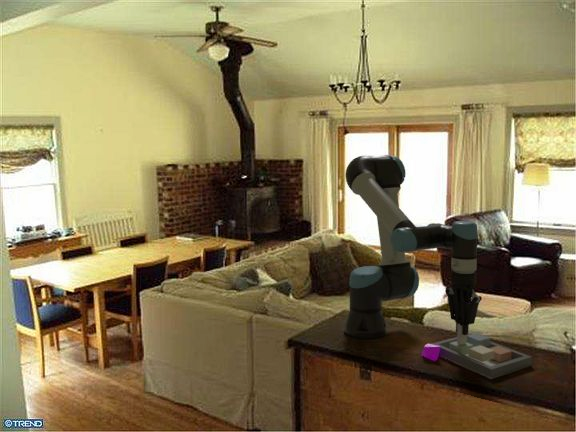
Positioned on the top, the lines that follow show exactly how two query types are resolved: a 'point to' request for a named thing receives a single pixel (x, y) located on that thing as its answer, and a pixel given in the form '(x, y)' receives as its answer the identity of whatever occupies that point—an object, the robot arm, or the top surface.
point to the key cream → (481, 353)
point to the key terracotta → (501, 354)
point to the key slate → (479, 340)
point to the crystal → (431, 351)
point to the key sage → (460, 347)
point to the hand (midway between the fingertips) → (461, 343)
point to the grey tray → (488, 367)
